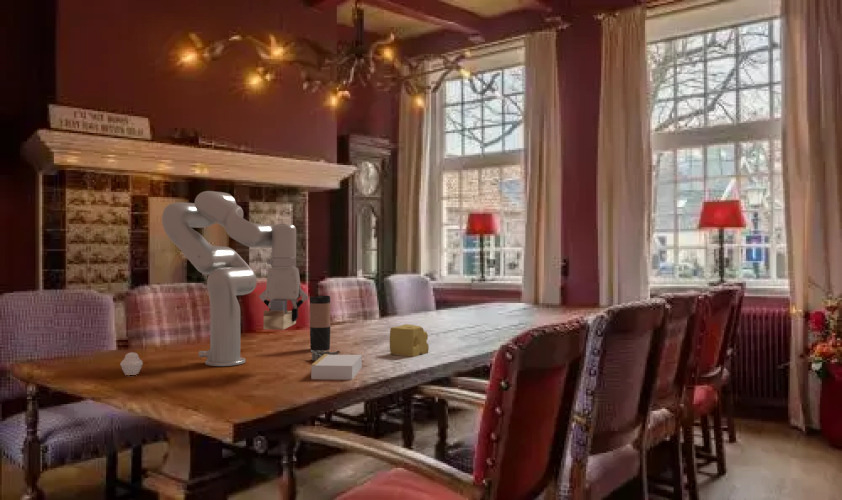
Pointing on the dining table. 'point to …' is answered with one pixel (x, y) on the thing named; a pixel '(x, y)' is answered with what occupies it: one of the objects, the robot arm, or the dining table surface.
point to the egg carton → (321, 354)
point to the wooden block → (277, 320)
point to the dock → (336, 367)
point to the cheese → (408, 340)
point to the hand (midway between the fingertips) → (283, 320)
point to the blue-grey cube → (278, 305)
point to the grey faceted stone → (131, 364)
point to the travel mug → (320, 323)
